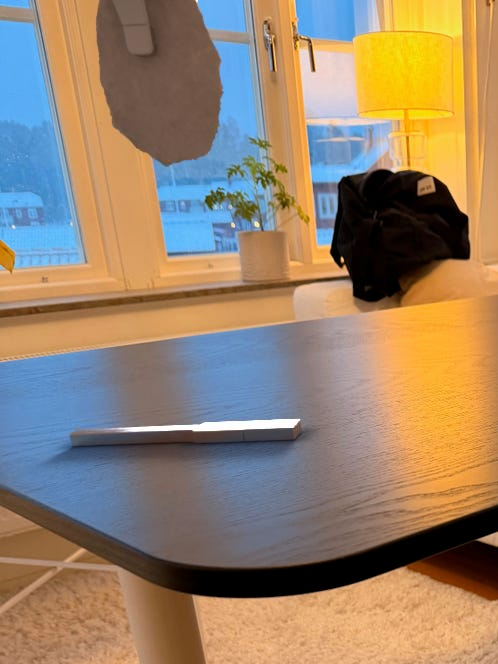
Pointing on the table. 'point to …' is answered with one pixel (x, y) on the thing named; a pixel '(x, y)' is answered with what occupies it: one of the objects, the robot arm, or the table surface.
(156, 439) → the grey long bar
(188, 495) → the table surface
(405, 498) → the table surface
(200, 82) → the stone tool
